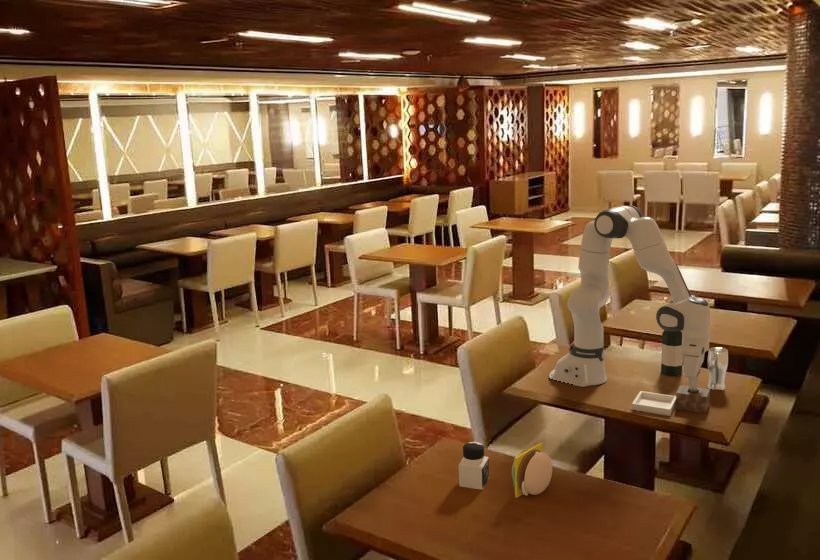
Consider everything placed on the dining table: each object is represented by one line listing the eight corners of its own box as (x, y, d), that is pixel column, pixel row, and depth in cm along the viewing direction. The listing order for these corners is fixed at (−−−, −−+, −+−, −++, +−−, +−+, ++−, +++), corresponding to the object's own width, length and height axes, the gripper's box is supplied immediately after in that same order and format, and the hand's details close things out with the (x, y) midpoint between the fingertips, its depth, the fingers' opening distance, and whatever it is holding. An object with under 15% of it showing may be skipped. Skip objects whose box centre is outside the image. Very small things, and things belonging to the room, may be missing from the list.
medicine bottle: (482, 490, 203) (481, 451, 200) (459, 486, 205) (457, 448, 203) (489, 478, 209) (488, 441, 207) (466, 475, 212) (465, 438, 209)
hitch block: (675, 408, 252) (676, 392, 250) (679, 400, 258) (680, 385, 257) (705, 413, 247) (706, 397, 245) (709, 405, 253) (710, 389, 252)
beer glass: (722, 384, 272) (724, 347, 268) (729, 391, 265) (731, 353, 262) (703, 384, 272) (705, 347, 269) (709, 391, 266) (711, 353, 262)
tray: (631, 410, 252) (631, 403, 252) (640, 397, 263) (640, 390, 263) (670, 416, 246) (670, 409, 245) (677, 402, 257) (677, 396, 256)
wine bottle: (656, 372, 286) (658, 301, 280) (667, 367, 292) (670, 296, 285) (675, 378, 280) (678, 304, 274) (686, 372, 285) (689, 300, 279)
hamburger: (532, 504, 194) (532, 464, 192) (508, 494, 200) (507, 455, 198) (557, 487, 202) (557, 449, 200) (534, 478, 208) (533, 440, 206)
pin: (685, 407, 252) (687, 370, 249) (687, 403, 255) (689, 366, 252) (697, 409, 250) (699, 371, 247) (699, 405, 253) (701, 368, 250)
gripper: (690, 334, 258) (689, 370, 261) (680, 351, 241) (679, 389, 244) (709, 336, 255) (707, 372, 258) (700, 353, 237) (698, 392, 240)
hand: (693, 381), depth 250 cm, fingers open, 7 cm apart
